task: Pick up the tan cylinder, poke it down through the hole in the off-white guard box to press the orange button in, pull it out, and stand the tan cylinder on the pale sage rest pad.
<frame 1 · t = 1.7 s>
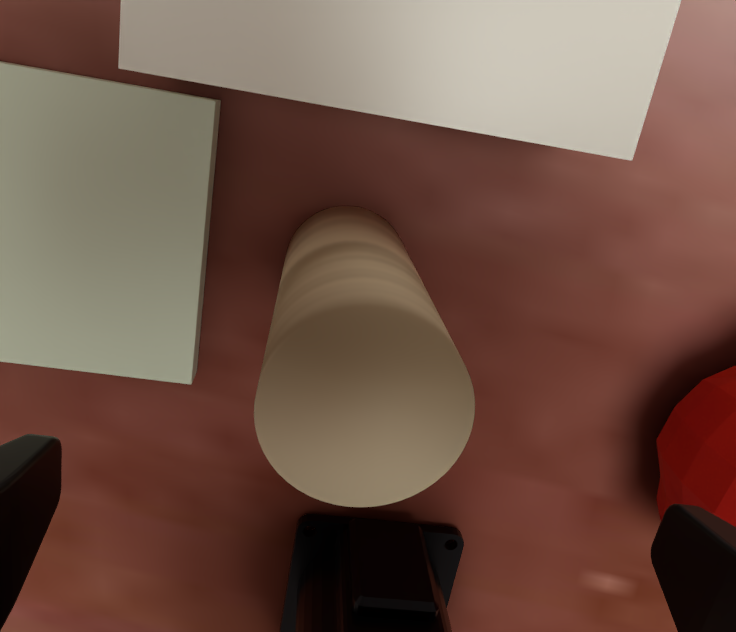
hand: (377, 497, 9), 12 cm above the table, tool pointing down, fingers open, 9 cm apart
rest pad: (62, 224, 19), on the table
tan cylinder: (345, 266, 21), on the table
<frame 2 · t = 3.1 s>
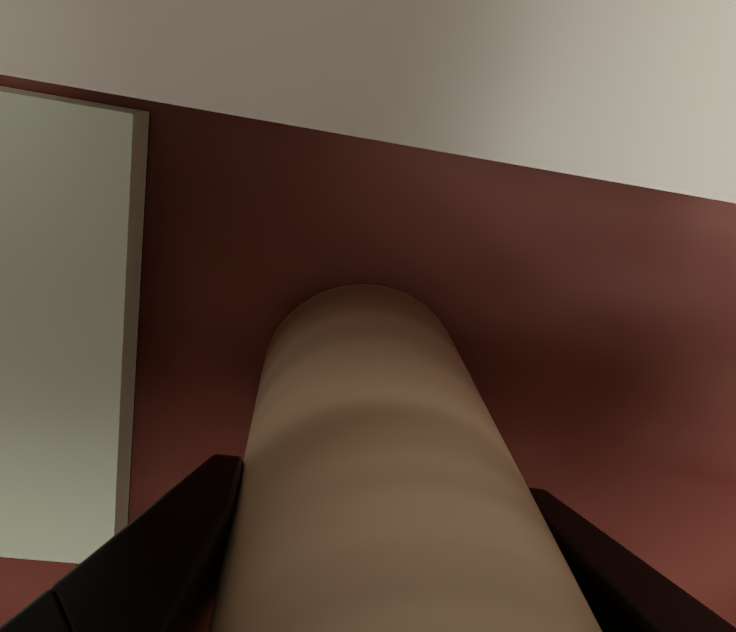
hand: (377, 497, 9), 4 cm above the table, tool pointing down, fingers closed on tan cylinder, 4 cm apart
tan cylinder: (360, 376, 13), on the table, touching gripper
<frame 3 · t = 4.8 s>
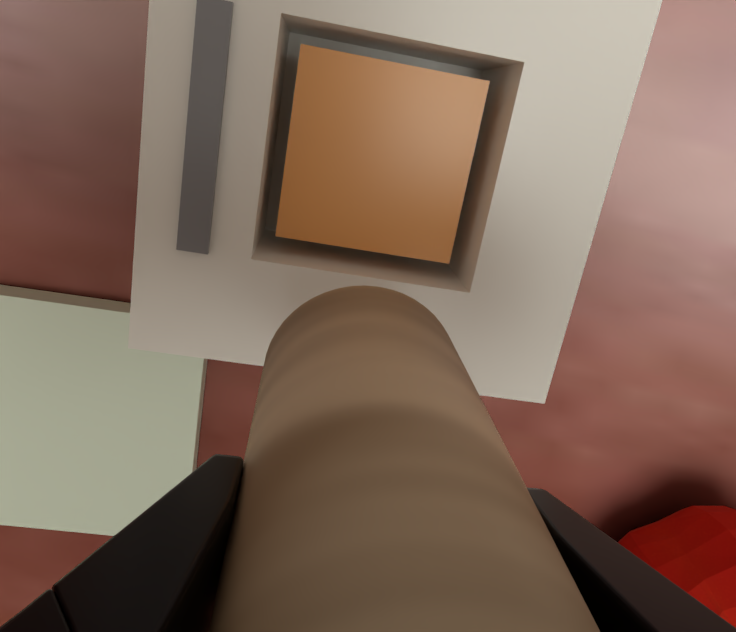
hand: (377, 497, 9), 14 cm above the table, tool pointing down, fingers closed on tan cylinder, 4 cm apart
guard box: (369, 150, 21), on the table
tomato: (665, 560, 27), on the table
guard button: (377, 158, 18), point 3 cm above the table, slide at 0.0 cm
rest pad: (76, 411, 23), on the table
tan cylinder: (361, 378, 13), point 9 cm above the table, touching gripper
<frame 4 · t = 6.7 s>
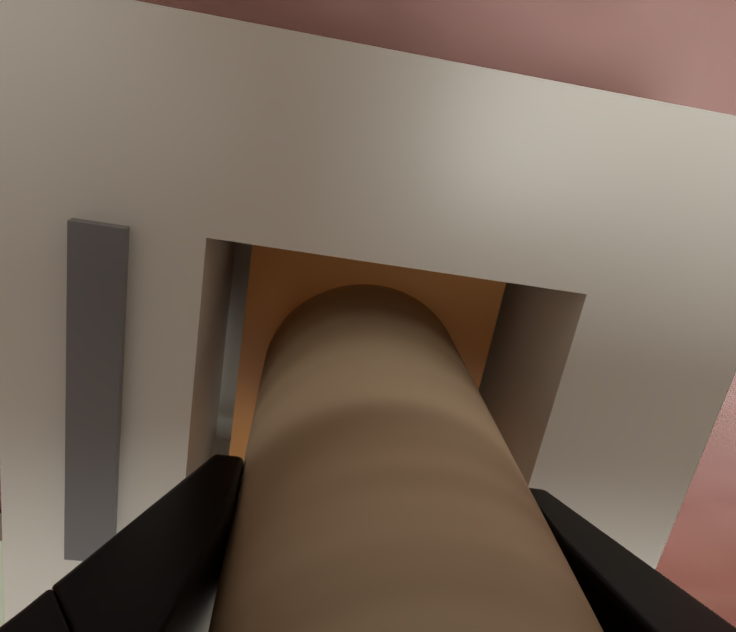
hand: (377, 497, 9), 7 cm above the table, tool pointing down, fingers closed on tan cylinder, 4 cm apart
guard box: (355, 328, 15), on the table
guard button: (360, 359, 14), point 2 cm above the table, slide at 1.4 cm, touching tan cylinder
tan cylinder: (361, 377, 13), point 3 cm above the table, touching gripper, guard button
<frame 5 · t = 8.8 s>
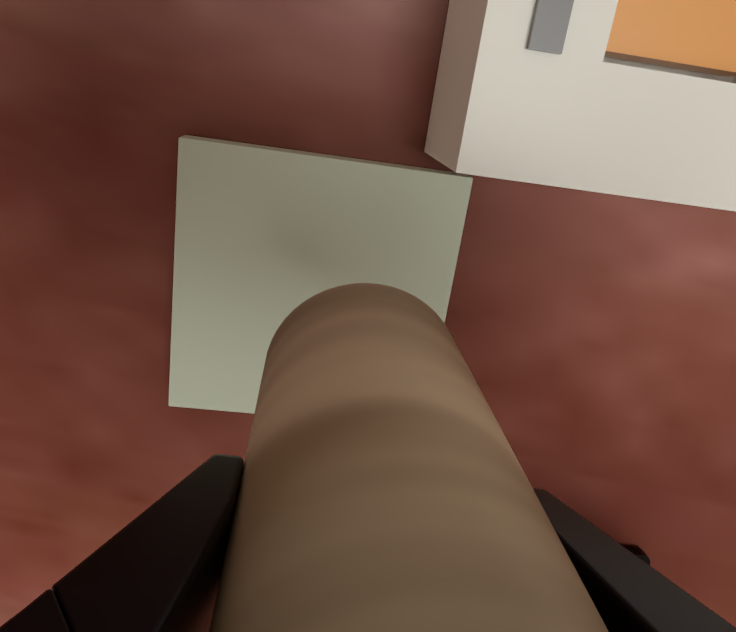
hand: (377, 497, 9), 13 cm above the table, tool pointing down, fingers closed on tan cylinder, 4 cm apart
rest pad: (313, 288, 21), on the table
tan cylinder: (362, 376, 13), point 9 cm above the table, touching gripper
when the fingers open (6 cm above the table, at t = 10.8 s): tan cylinder drops 1 cm, resting on rest pad.
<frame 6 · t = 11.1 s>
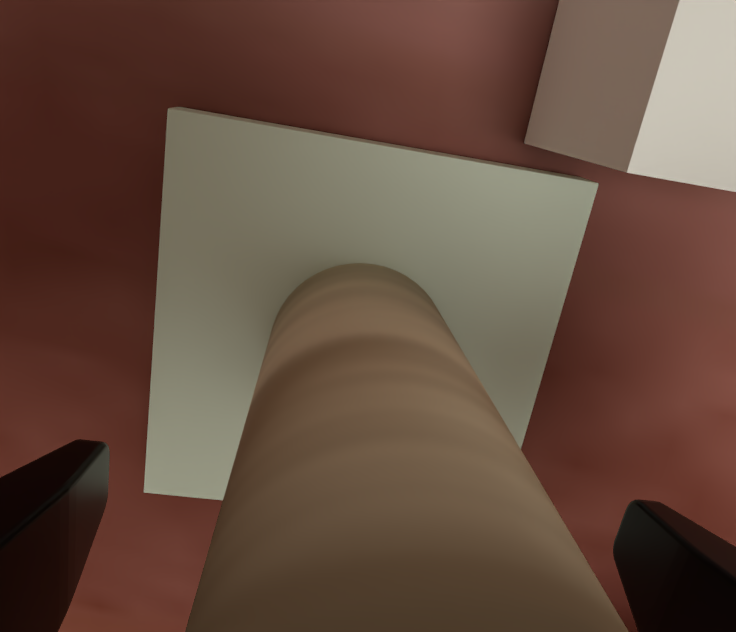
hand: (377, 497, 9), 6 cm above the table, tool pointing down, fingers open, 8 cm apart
rest pad: (354, 331, 15), on the table
tan cylinder: (358, 349, 14), point 1 cm above the table, touching rest pad
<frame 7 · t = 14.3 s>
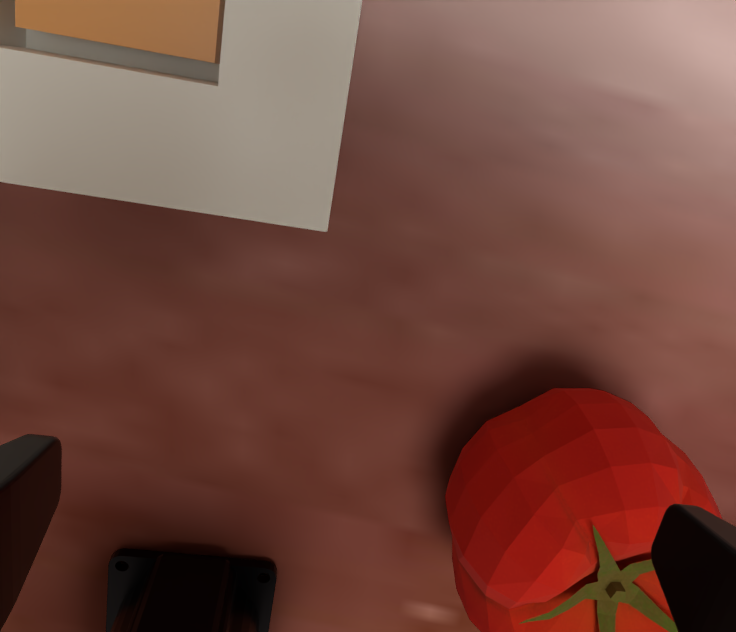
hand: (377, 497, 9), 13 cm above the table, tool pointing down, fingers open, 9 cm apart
tomato: (540, 460, 25), on the table
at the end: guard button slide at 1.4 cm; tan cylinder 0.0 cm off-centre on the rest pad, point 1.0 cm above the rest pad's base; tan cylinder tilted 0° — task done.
